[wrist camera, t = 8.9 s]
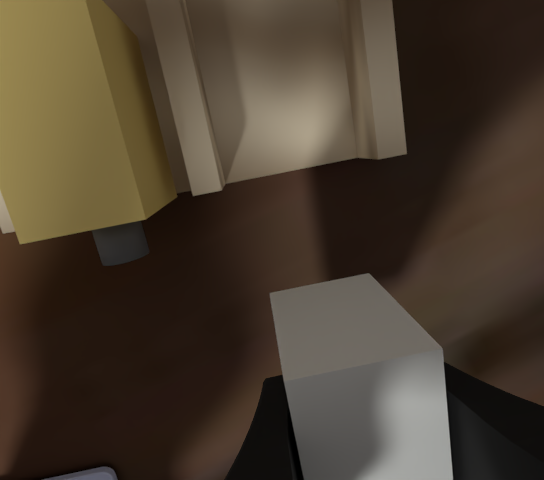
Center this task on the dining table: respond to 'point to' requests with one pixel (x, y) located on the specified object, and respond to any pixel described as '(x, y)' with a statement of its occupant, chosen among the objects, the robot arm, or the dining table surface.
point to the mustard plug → (78, 127)
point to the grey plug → (361, 384)
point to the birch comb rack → (266, 85)
